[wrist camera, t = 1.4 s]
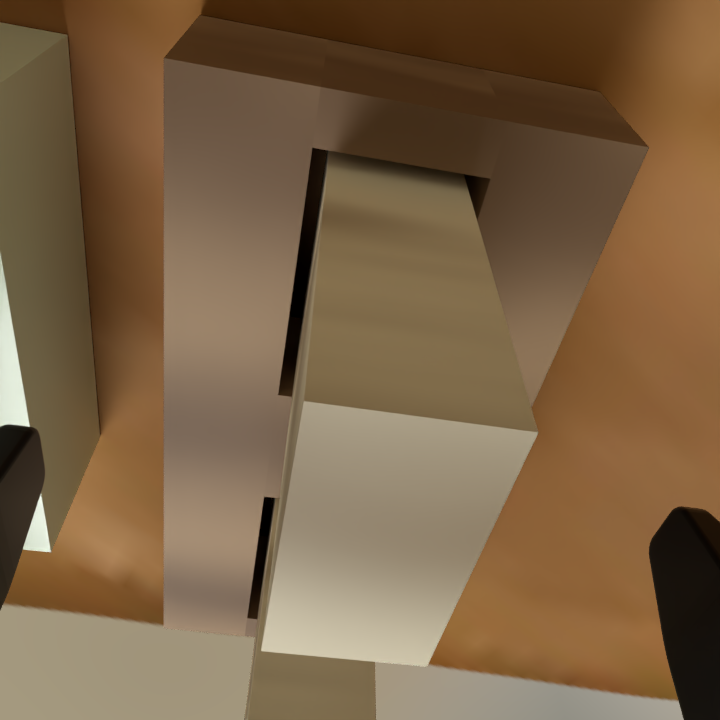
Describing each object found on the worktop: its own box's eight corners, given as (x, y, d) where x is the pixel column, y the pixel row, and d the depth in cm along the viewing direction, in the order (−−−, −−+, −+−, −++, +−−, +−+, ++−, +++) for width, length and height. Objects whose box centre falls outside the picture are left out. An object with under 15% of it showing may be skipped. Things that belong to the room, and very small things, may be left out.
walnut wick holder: (414, 570, 24) (420, 652, 22) (183, 545, 23) (163, 628, 21) (599, 91, 14) (649, 147, 11) (199, 15, 13) (163, 57, 11)
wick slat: (343, 538, 23) (335, 859, 16) (269, 530, 23) (226, 853, 15) (371, 433, 20) (376, 773, 13) (285, 422, 19) (242, 762, 12)
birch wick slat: (400, 322, 17) (426, 667, 10) (302, 308, 17) (261, 651, 10) (451, 130, 14) (538, 432, 7) (333, 109, 14) (304, 401, 7)
